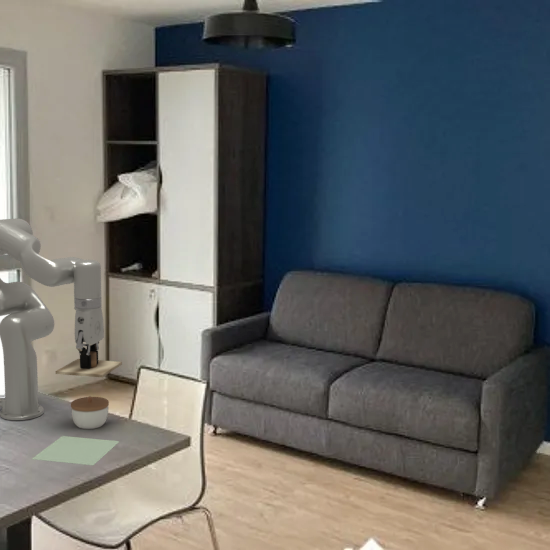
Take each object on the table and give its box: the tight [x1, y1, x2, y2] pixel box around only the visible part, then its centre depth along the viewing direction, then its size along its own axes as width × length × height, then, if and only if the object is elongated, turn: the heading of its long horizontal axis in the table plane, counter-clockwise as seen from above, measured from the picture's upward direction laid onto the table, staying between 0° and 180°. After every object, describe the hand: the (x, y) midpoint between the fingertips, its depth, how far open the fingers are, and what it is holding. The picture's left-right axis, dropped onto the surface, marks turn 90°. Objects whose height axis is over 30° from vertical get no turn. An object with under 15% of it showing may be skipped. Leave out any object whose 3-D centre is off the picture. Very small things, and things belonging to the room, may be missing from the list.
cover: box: [55, 351, 123, 378], centre depth 217 cm, size 14×14×5 cm
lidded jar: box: [70, 395, 110, 430], centre depth 219 cm, size 11×11×9 cm
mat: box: [31, 435, 120, 466], centre depth 201 cm, size 17×17×1 cm
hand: (89, 365), depth 217 cm, fingers closed on cover, 4 cm apart
